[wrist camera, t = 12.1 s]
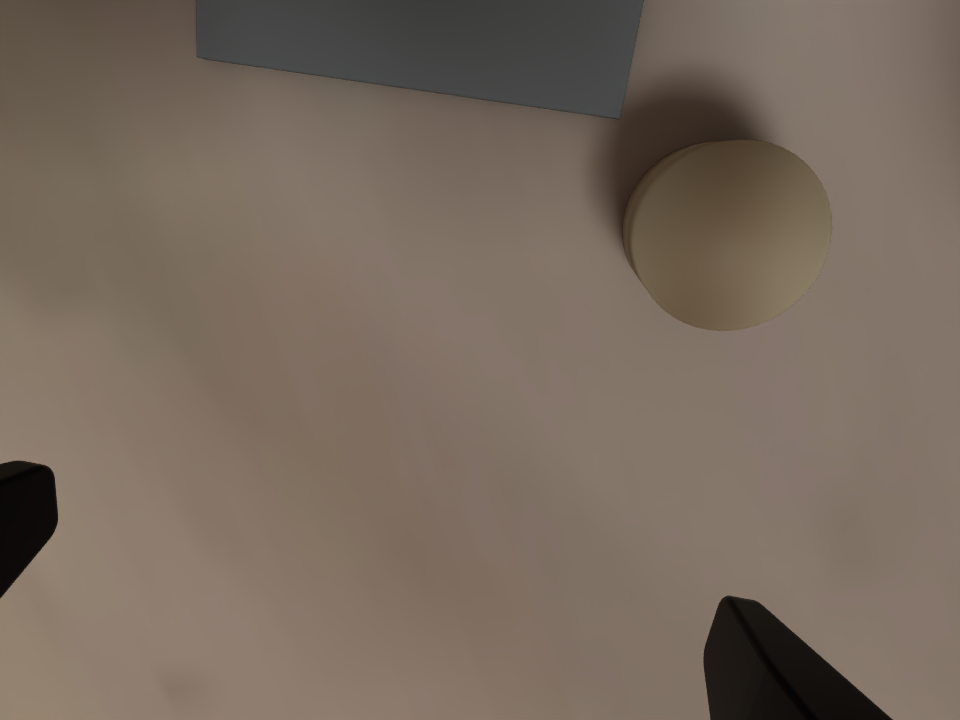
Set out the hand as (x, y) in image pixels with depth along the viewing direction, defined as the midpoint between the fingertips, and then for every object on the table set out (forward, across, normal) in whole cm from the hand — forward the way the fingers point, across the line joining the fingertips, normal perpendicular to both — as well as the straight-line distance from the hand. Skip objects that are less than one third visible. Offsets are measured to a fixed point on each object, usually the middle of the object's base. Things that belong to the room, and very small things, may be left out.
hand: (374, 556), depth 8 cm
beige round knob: (+12, -6, -4) cm, 14 cm away
